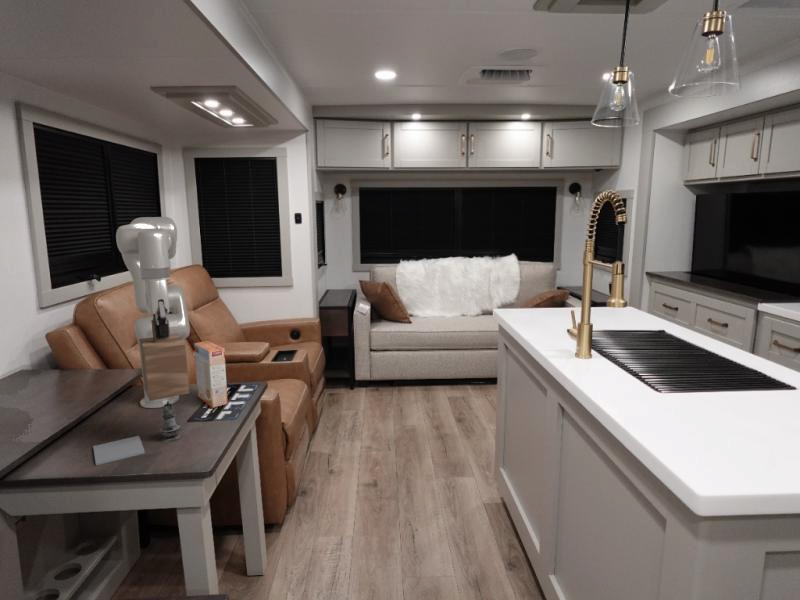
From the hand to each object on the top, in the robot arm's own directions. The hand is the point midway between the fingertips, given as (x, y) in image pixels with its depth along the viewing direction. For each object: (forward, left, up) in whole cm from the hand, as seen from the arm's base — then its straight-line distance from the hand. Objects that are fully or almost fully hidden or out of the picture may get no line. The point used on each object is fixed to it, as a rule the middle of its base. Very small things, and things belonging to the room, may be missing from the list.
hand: (161, 335), depth 146 cm
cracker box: (-23, +18, -32) cm, 44 cm away
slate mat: (0, -14, -32) cm, 35 cm away
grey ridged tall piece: (0, 0, -32) cm, 32 cm away
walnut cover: (0, 0, -17) cm, 17 cm away
